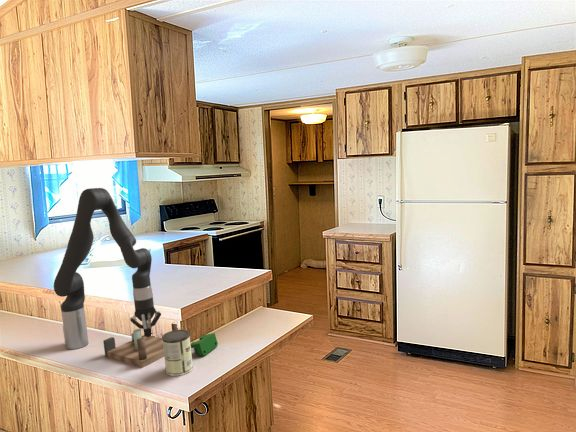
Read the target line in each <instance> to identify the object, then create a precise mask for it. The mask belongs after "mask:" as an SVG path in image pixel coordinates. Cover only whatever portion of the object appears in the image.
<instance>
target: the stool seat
mask: <svg viewBox="0 0 576 432" xmlns="http://www.w3.org/2000/svg"><path fill="white" fill-rule="evenodd" d="M173 323H174V322H173ZM173 323H171V331H174V330H178V328H177V324H173ZM146 326H147V320H146ZM141 336H142V338H139V339H137V346H138V351H137V350H135V343H134V342H133V341H132V340H130V341H127V342H125V343H124V344H121V345H119V346H116V340H115V337H112V336H110V337H109V338H106V339H104V340H103V342H102V343H103V350H104V356H105V358H109V359H113V360H116V361H118V362H119V361H120V362H123V363H126V364H130V365H133V366H136V367H140V368H145V367H147V366H148V365H151V364H153V363H155V362H157V361H159V360H160V359H162V358H165V357H164V348H163V340H162V338H159V337H155V336H151V335H150V337H146V336H145V335H144V334H143V335H141Z"/></svg>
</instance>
